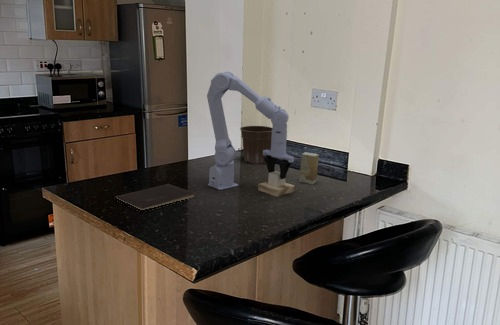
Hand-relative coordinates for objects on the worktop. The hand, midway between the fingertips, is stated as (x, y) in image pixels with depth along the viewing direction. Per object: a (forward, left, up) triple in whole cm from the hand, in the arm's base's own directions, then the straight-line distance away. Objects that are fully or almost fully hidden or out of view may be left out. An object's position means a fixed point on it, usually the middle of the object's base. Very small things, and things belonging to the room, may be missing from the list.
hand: (277, 176), depth 172 cm
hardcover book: (-42, +19, -6) cm, 46 cm away
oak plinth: (0, 0, -6) cm, 6 cm away
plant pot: (+26, +39, -6) cm, 47 cm away
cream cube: (0, 0, -3) cm, 3 cm away
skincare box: (+19, 0, -6) cm, 20 cm away
